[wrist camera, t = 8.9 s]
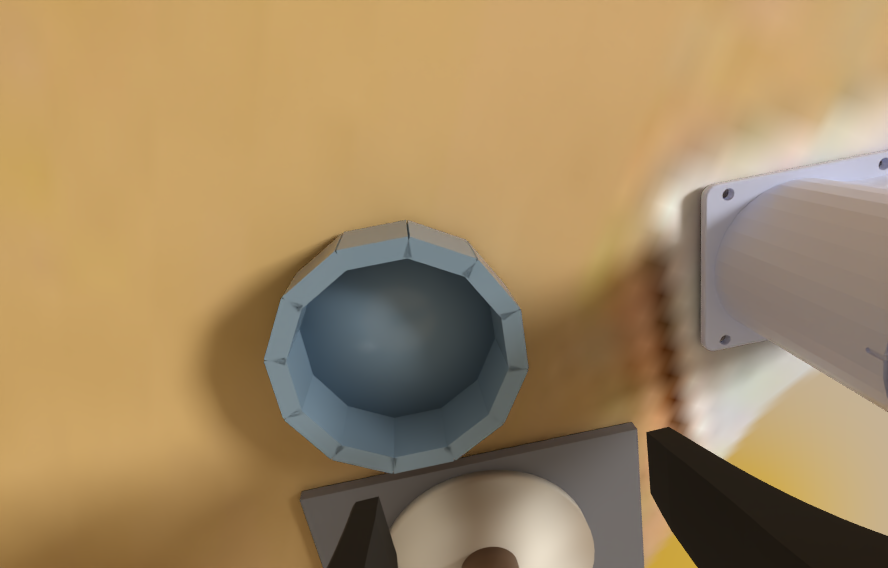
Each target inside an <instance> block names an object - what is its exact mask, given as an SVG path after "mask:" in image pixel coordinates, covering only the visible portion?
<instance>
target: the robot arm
mask: <svg viewBox="0 0 888 568" xmlns="http://www.w3.org/2000/svg"><path fill="white" fill-rule="evenodd" d="M881 160H882V163H881V165H880V166H879V162H880V161H881ZM726 189H728V195H727V197H726V198H724V199H723V196H722V195H723V192H724V191H725V190H726ZM724 335H726V336H725V338H724V340H722V341H720V339H721V338H722V337H723V336H724ZM765 340H769V341H771V342H773V343H774V344H776V345H778V346H779V347H781V348H782V349H784V350H786V351H787V352H789V353H791V354H792V355H794V356H796V357H797V358H799V359H801V360H802V361H804V362H806V363H807V364H809V365H811V366H812V367H814V368H816V369H817V370H819V371H821V372H822V373H824V374H826V375H827V376H829V377H831V378H832V379H834V380H836V381H837V382H839V383H841V384H842V385H844V386H845V387H847V388H849V389H850V390H852V391H854V392H855V393H857V394H859V395H860V396H862V397H864V398H865V399H867V400H869V401H871V402H872V403H874V404H876V405H877V406H879V407H880V408H882V409H884V410H885V411H887V412H888V150H884V151H879V152H873V153H868V154H863V155H858V156H853V157H848V158H843V159H838V160H832V161H827V162H822V163H817V164H812V165H807V166H802V167H797V168H791V169H786V170H781V171H776V172H771V173H766V174H761V175H756V176H750V177H745V178H740V179H735V180H730V181H725V182H720V183H715V184H711V185H708V186H707V187H706V188H705V189H704V190H703V192H702V196H701V344H702V345H703V347H705V348H706V349H707V350H709V351H717V350H722V349H726V348H731V347H736V346H741V345H746V344H751V343H756V342H760V341H765ZM646 433H647V448H648V462H649V476H650V490H651V495H652V496H653V498H654V500H655V502H656V504H657V506H658V508H659V509H660V511H661V513H662V515H663V517H664V518H665V520H666V522H667V524H668V525H669V527H670V529H671V531H672V532H673V533H674V535H675V536H676V538H677V539H678V541H679V542H680V543H681V545H682V546H683V548H684V549H685V551H686V552H687V553H688V554H689V556H690V558H691V559H692V560H693V562H694V563H695V565H696V566H697V567H698V568H888V536H886V535H883V534H881V533H878V532H875V531H872V530H870V529H867V528H865V527H862V526H859V525H857V524H854V523H852V522H849V521H847V520H844V519H842V518H839V517H837V516H835V515H833V514H830V513H828V512H826V511H823V510H821V509H819V508H817V507H814V506H812V505H809V504H807V503H805V502H803V501H801V500H799V499H797V498H795V497H793V496H790V495H789V494H787V493H784V492H783V491H781V490H779V489H777V488H774V487H773V486H771V485H769V484H767V483H765V482H763V481H761V480H759V479H757V478H755V477H754V476H752V475H750V474H748V473H746V472H745V471H743V470H741V469H739V468H737V467H735V466H734V465H732V464H730V463H729V462H727V461H725V460H723V459H722V458H720V457H718V456H717V455H715V454H713V453H712V452H710V451H708V450H706V449H705V448H703V447H701V446H700V445H698V444H696V443H695V442H693V441H691V440H690V439H688V438H687V437H685V436H683V435H682V434H680V433H678V432H676V431H675V430H673V429H671V428H670V427H666V428H662V429H658V430H654V431H650V432H646ZM327 568H398V562H397V553H396V550H395V547H394V544H393V540H392V537H391V534H390V531H389V527H388V524H387V521H386V518H385V515H384V511H383V508H382V505H381V502H380V498H379V496H378V497H374V498H370V499H366V500H361V501H357V502H355V504H354V505H353V507H352V510H351V512H350V515H349V517H348V520H347V523H346V525H345V528H344V530H343V533H342V535H341V537H340V540H339V542H338V544H337V547H336V549H335V551H334V553H333V556H332V558H331V560H330V562H329V564H328V566H327Z"/></svg>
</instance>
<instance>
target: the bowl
mask: <svg viewBox="0 0 888 568" xmlns="http://www.w3.org/2000/svg"><path fill="white" fill-rule="evenodd" d="M264 363H265V366H266V369H267V372H268V375H269V378H270V381H271V384H272V387H273V390H274V393H275V396H276V399H277V402H278V405H279V408H280V411H281V414H282V417H283V419H284V421H286V422H287V423H288V424H289V425H290V426H292V427H293V428H294V429H295V430H296V431H298V432H299V433H300V434H301V435H302V436H304V437H305V438H306V439H307V440H308V441H309V442H311V443H312V444H313V445H314V446H315V447H317V448H318V449H319V450H320V451H321V452H323V453H324V454H325V455H326V456H327V457H329V458H330V459H332V458H333V459H332V460H334V461H339V462H343V463H347V464H352V465H356V466H360V467H365V468H369V469H373V470H378V471H382V472H386V473H391V474H392V473H393V472H394V474H396V473H400V472H405V471H410V470H415V469H419V468H424V467H429V466H434V465H438V464H443V463H448V462H453V461H454V459H455V460H457V459H458V458H460V457H461V456H462V455H464V454H465V453H466V452H468V451H469V450H470V449H471V448H473V447H474V446H475V445H477V444H478V443H479V442H481V441H482V440H483V439H485V438H486V437H487V436H489V435H490V434H491V433H493V432H494V431H495V430H497V429H498V428H499V427H500V426H502V425H503V423H505V421H506V418H507V416H508V414H509V412H510V410H511V407H512V405H513V403H514V401H515V399H516V396H517V394H518V392H519V390H520V388H521V385H522V383H523V381H524V379H525V377H526V374H527V372H528V368H529V367H528V359H527V352H526V344H525V337H524V329H523V322H522V314H521V309H520V307H519V306H518V304H517V303H516V301H515V299H514V298H513V296H512V295H511V293H510V292H509V290H508V289H507V287H506V286H505V284H504V283H503V282H502V281H501V279H500V278H499V277H498V276H497V275H496V274H495V272H494V271H493V270H492V269H491V268H490V266H489V265H488V264H487V263H486V262H485V261H484V259H483V258H482V257H481V256H480V255H479V254H478V252H477V251H476V250H475V249H474V248H473V247H472V245H471V244H470V243H469V242H468V241H466V240H465V239H462V238H459V237H456V236H453V235H450V234H447V233H444V232H441V231H439V230H436V229H433V228H430V227H427V226H424V225H421V224H418V223H415V222H412V221H409V220H408V221H407V223H406V220H404V221H398V222H393V223H388V224H383V225H378V226H373V227H367V228H362V229H357V230H352V231H347V232H344V233H342V234H340V235H339V236H338V237H337V238H336V239H335V240H334V241H332V242H331V243H330V244H329V245H328V246H327V247H326V248H325V249H323V250H322V251H321V252H320V253H319V254H318V255H317V256H315V257H314V258H313V259H312V260H311V261H310V262H309V263H307V264H306V265H305V266H304V267H303V268H302V269H301V270H300V271H298V272H297V273H296V275H295V277H294V278H293V280H292V281H291V283H290V285H289V286H288V288H287V290H286V291H285V293H284V295H283V296H282V298H281V300H280V304H279V307H278V311H277V315H276V318H275V322H274V325H273V329H272V332H271V336H270V340H269V343H268V347H267V350H266V354H265V357H264Z"/></svg>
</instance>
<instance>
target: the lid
mask: <svg viewBox="0 0 888 568" xmlns="http://www.w3.org/2000/svg"><path fill="white" fill-rule="evenodd" d="M389 531H390V534H391V537H392V540H393V544H394V547H395V550H396V553H397V562H398V568H593V564H594V553H595V550H594V541H593V537H592V534H591V530H590V528H589V526H588V524H587V522H586V520H585V518H584V515H583V513H582V511H581V509H580V508H579V506H578V505H577V504H576V502H575V501H574V500H573V499H572V498H571V497H570V496H569V495H568V494H567V493H566V492H565V491H564V490H562V489H561V488H560V487H558V486H557V485H555V484H553V483H552V482H550V481H548V480H546V479H543V478H541V477H538V476H535V475H532V474H528V473H524V472H519V471H511V470H487V471H478V472H473V473H468V474H464V475H460V476H457V477H454V478H451V479H448V480H446V481H444V482H442V483H440V484H437V485H435V486H434V487H432V488H430V489H429V490H427V491H425V492H424V493H422V494H421V495H420V496H418V497H417V498H416V499H414V500H413V501H412V502H411V503H410V504H409V505H408V506H407V507H406V508H405V509H404V510H403V511H402V512H401V513H400V515H399V516H398V517H397V518H396V520H395V521H394V523H393V525H392V526H391V528H390V530H389Z"/></svg>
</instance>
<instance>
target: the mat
mask: <svg viewBox="0 0 888 568" xmlns="http://www.w3.org/2000/svg"><path fill="white" fill-rule="evenodd" d="M487 470H511V471H519V472H524V473H528V474H532V475H535V476H538V477H541V478H543V479H546V480H548V481H550V482H552V483H553V484H555V485H557V486H558V487H560V488H561V489H562V490H564V491H565V492H566V493H567V494H568V495H569V496H570V497H571V498H572V499H573V500H574V501H575V502H576V504H577V505H578V506H579V508H580V509H581V511H582V513H583V515H584V518H585V520H586V522H587V524H588V526H589V528H590V530H591V534H592V537H593V541H594V550H595V553H594V564H593V568H644V555H643V535H642V515H641V495H640V475H639V455H638V435H637V428H636V427H635V426H634V424H633V423H632V422H630V423H625V424H620V425H616V426H611V427H606V428H601V429H597V430H592V431H587V432H582V433H578V434H573V435H568V436H563V437H559V438H554V439H549V440H544V441H540V442H535V443H530V444H525V445H520V446H516V447H511V448H506V449H501V450H497V451H492V452H487V453H482V454H478V455H473V456H468V457H463V458H459V459H457V460H455V459H454V461H453V462H448V463H443V464H438V465H434V466H429V467H424V468H419V469H415V470H410V471H405V472H400V473H396V474H394V472H393V473H392V474H391V473H387V474H382V475H378V476H373V477H368V478H363V479H359V480H354V481H349V482H344V483H340V484H335V485H330V486H325V487H321V488H316V489H311V490H306V491H302V493H301V497H300V502H301V505H302V508H303V511H304V514H305V517H306V520H307V523H308V525H309V528H310V531H311V534H312V537H313V540H314V543H315V546H316V549H317V551H318V554H319V557H320V560H321V563H322V566H323V568H327V566H328V564H329V562H330V560H331V558H332V556H333V553H334V551H335V549H336V547H337V544H338V542H339V540H340V537H341V535H342V533H343V530H344V528H345V525H346V523H347V520H348V517H349V515H350V512H351V510H352V507H353V505H354V504H355V502H357V501H361V500H366V499H370V498H374V497H378V496H379V498H380V502H381V505H382V508H383V511H384V515H385V518H386V521H387V524H388V527H389V530H390V528H391V526H392V525H393V523H394V521H395V520H396V518H397V517H398V516H399V515H400V513H401V512H402V511H403V510H404V509H405V508H406V507H407V506H408V505H409V504H410V503H411V502H412V501H413V500H414V499H416V498H417V497H418V496H420V495H421V494H422V493H424V492H425V491H427V490H429V489H430V488H432V487H434V486H435V485H437V484H440V483H442V482H444V481H446V480H448V479H451V478H454V477H457V476H460V475H464V474H468V473H473V472H478V471H487Z"/></svg>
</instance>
